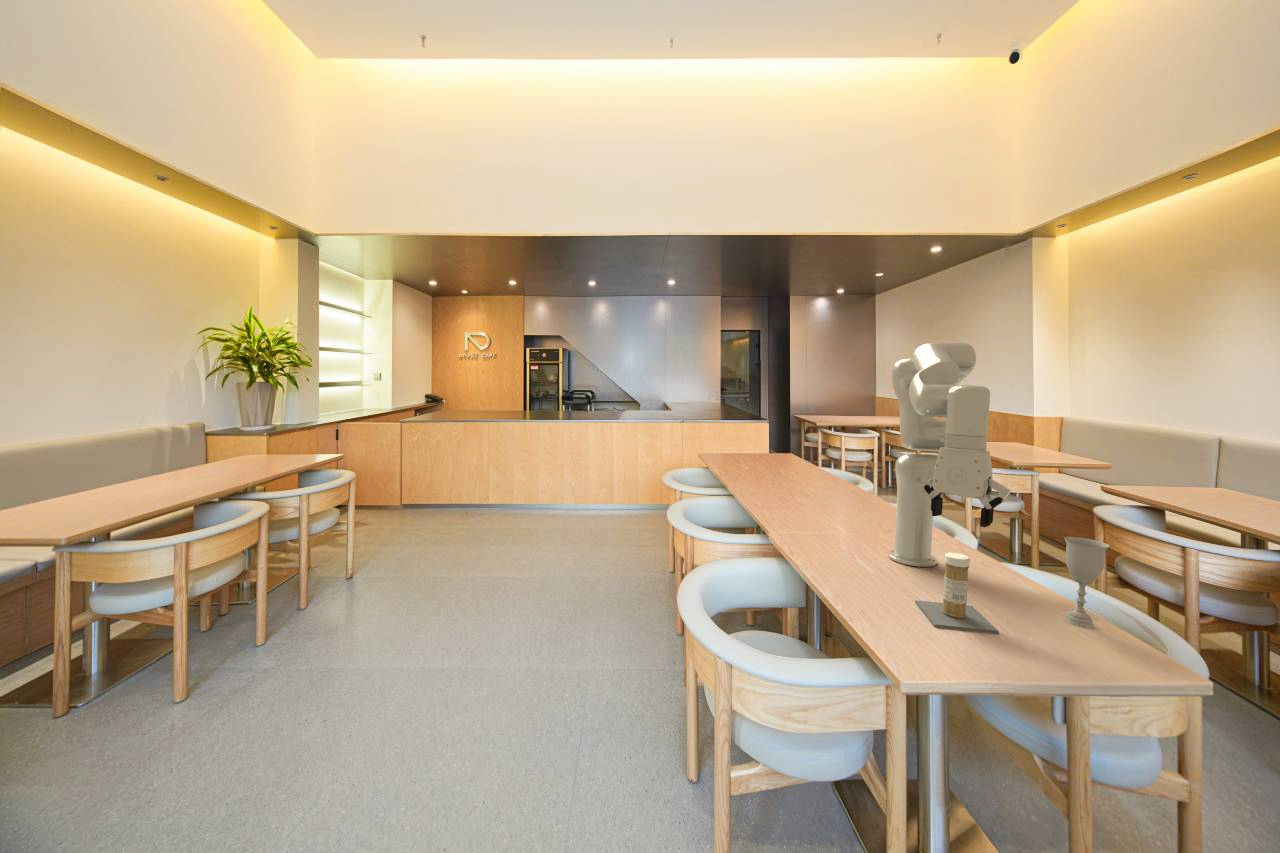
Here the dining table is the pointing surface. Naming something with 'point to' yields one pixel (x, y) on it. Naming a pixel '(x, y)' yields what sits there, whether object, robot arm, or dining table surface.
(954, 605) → the sprinkles bottle
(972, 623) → the slate mat
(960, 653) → the dining table surface
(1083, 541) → the chalice
